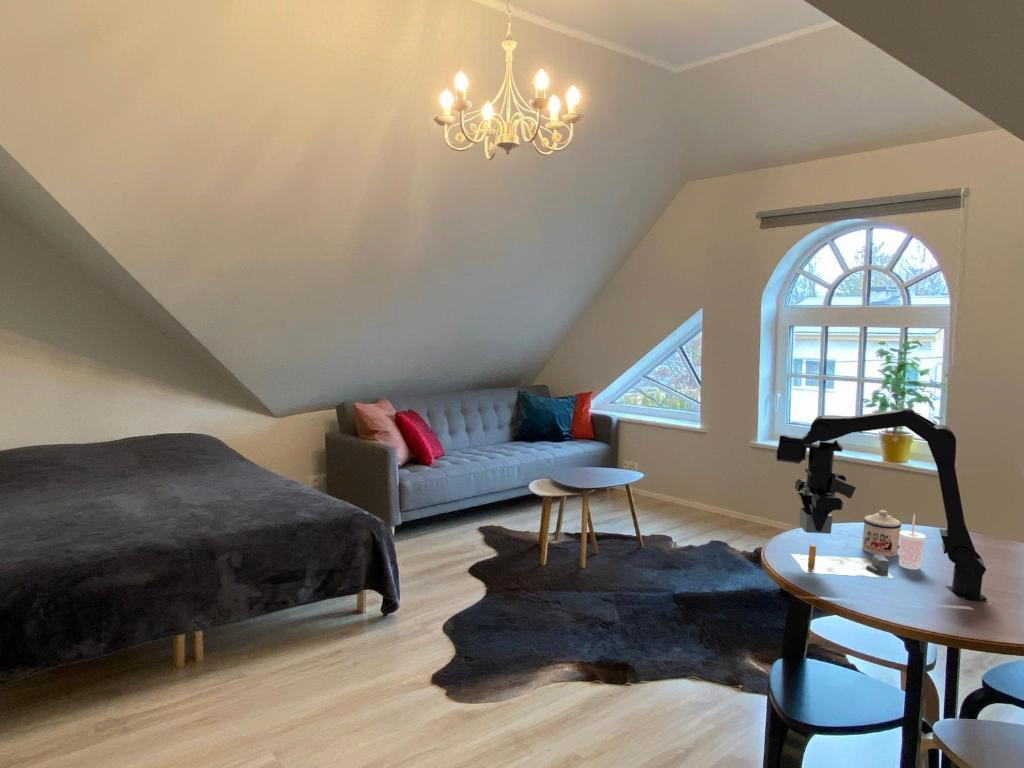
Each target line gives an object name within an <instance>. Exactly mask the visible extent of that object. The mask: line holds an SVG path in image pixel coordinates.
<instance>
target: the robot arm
mask: <svg viewBox="0 0 1024 768" xmlns="http://www.w3.org/2000/svg"><path fill="white" fill-rule="evenodd" d="M901 427H905V428H907V429H909V430H910V431H911V432H912V433H914V434H916V435H917V436H918V437H919V438H921V439H922V440H924V441H926V442H927V446H928V448H929V451H930V453H931V456H932V458H933V460H934V462H935V465H936V469H937V474H938V475H937V476H938V482H939V487H940V492H941V497H942V502H943V503H942V505H943V509H944V515H945V521H946V524H945V529H943V528H942V529H939V533H940V536H941V537H940V538H941V540H942V543H941V547H942V550H943V554H947V557H948V559H949V561H950V562H952V563H953V564H954V566H953V574H952V575H953V576H952V584H951V585H945V586H944V587H945V588H946V589H947V590H949V591H950V592H951V594H954V595H955V596H956V597H958V598H964V599H965V600H973V601H987V600H988V598H987V597H986V596H985V595H983V594H982V593H981V592H982V585H983V576H984V575H985V573H986V571H987V568H986V565H985V563H984V561H983V558H982V556H981V555H980V554H979V553H978V552H977V550H976V548H975V546H974V543H973V539H972V538H971V535H970V533H969V530H968V527H967V525H966V522H965V515H964V511H963V504H962V500H961V499H962V498H961V493H960V488H959V482H958V478H957V470H956V454H957V438H956V436H955V434H954V431H953V430H952V429H951V428H950V427H948V425H947V426H946V425H943V424H936V423H934V422H932V421H931V420H929V419H928V418H926V417H924V416H922V415H920V414H919V413H917V412H916V411H915V410H914V409H912V408H909V407H903V408H901V409H895V410H888V411H887V410H886V411H881V412H874V413H873V412H872V413H867V414H860V415H853V416H851V415H850V416H849V415H835V414H834V415H830V414H827V415H826V414H822V415H818V416H817V417H816V418H814V420H813V421H812V423H811V425H810V429H809V431H807V433H804V435H803V437H801V436H800V437H799V436H792V435H791V436H790V435H787V434H781V435H779V440H778V441H779V442H778V444H777V445H778V447H777V449H776V462H781V463H790V464H797V465H801V462H803V461H807V460H808V462H807V467H804V471H805V473H807V474H806V478H798V479H797V480H796V481H795V483H794V484H795V485H794V489H795V491H797V495H798V496H799V499H800V502H801V504H802V508H811V512H812V516H813V520H814V524H815V527H816V530H817V531H822V528H823V526H824V524H825V521H826V519H827V517H828V515H829V514H831V512H833V511H842V510H843V504H844V502H843V500H842V499H841V498H839V496H837V494H840V495H842V496H844V497H846V498H847V499H852V497H853V495H854V493H855V491H856V489H857V486H855V484H853V483H851V482H849V481H848V480H847V477H846V476H845V475H843V474H841V473H837V474H836V473H835V472H834V471H833V469H834V459H835V458H834V456H835V455H834V454H835V452H839V453H840V452H842V451H843V449H844V447H843V446H842V445H841V444H840V443H839V441H838V440H837V439H838V438H842V437H843V436H847V435H849V434H853V433H860V432H868V431H876V430H885V429H892V428H901ZM832 440H834V441H833V442H828V441H832ZM817 442H819V444H817ZM815 443H816V444H815ZM807 450H808V451H807ZM807 452H808V459H807ZM806 459H807V460H806ZM836 493H837V494H836Z"/></svg>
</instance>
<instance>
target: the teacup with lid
mask: <svg viewBox="0 0 1024 768" xmlns="http://www.w3.org/2000/svg"><path fill="white" fill-rule="evenodd" d="M863 522H864V525H863V533H862V534H863V535H862V544H861V545H862V546H861V549H862V551H864V552H866V553H868V554H871V555H883V556H884V557H895V556H897V555H898V554H899V553H898V550H900V536H899V532H900V531H903V530H904V529H901V527H902V523H901V521H900V520H898V519H896V518H894V517H893V516H892V515H889V514H888V511H886V509H885V510H884V509H881V510H880V509H879V511H878V512H876V513H874V514H868V515H866V516H865V517H864V518H863Z"/></svg>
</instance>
